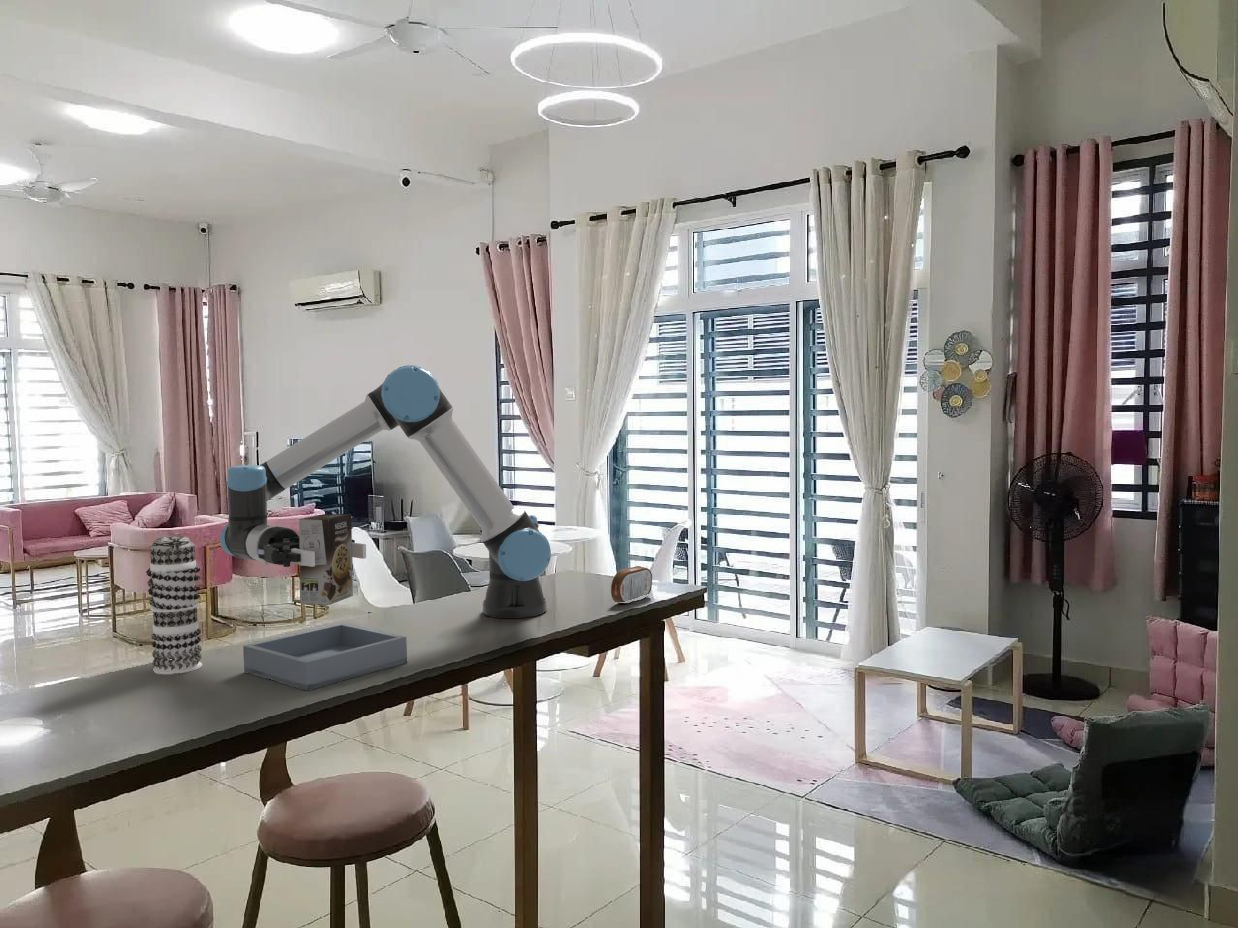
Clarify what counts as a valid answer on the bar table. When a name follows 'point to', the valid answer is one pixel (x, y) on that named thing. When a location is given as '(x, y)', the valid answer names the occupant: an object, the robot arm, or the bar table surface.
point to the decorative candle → (174, 605)
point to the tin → (631, 583)
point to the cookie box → (326, 559)
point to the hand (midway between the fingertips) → (339, 555)
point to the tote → (324, 655)
